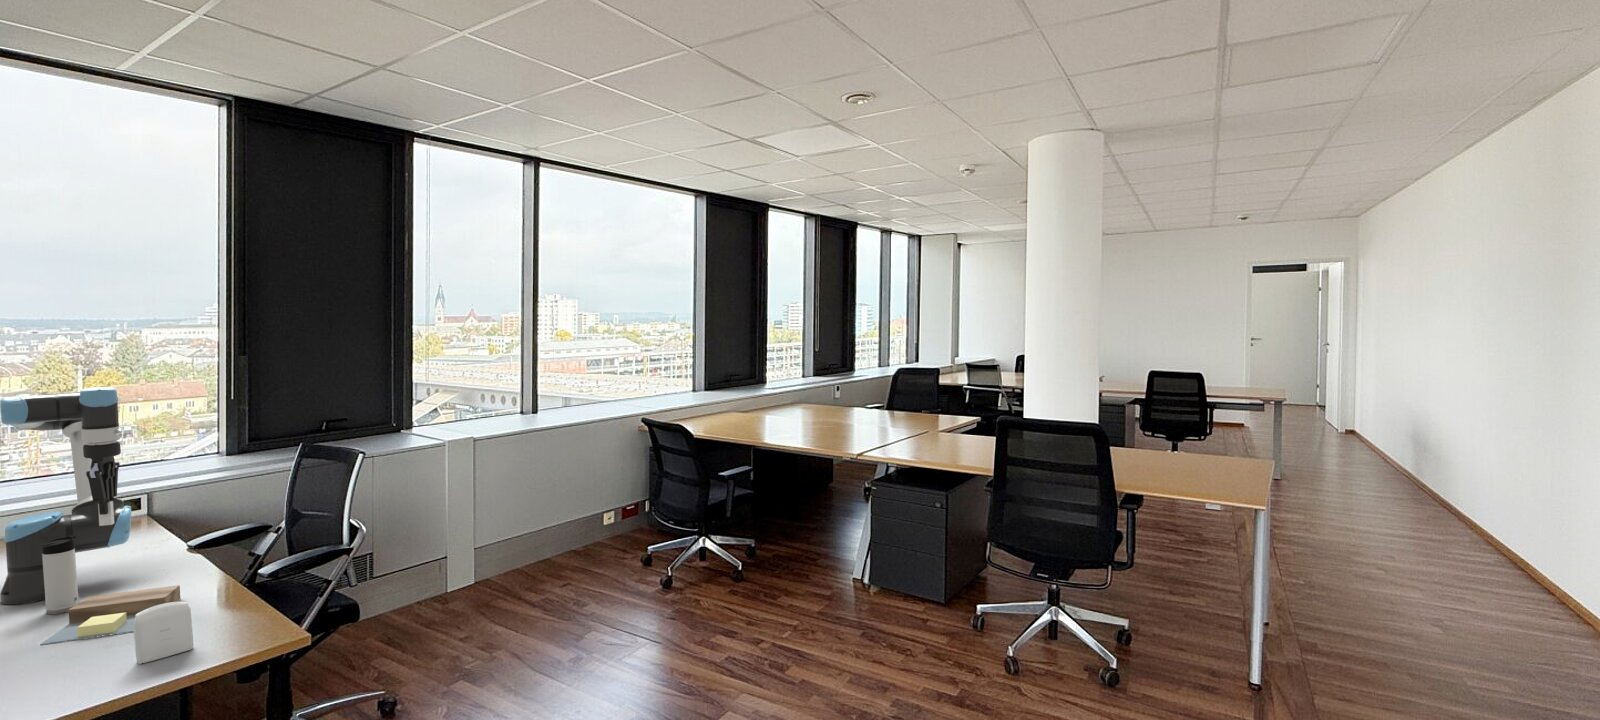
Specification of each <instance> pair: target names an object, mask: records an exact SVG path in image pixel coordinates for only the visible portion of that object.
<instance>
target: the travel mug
mask: <svg viewBox="0 0 1600 720" xmlns="http://www.w3.org/2000/svg"><path fill="white" fill-rule="evenodd" d="M74 538H75V536H68V537H63V538H58V539H54V540H51V541H48V542H46V543H44V544H42V550H43V551H42V555H43V557H42V559H43V573H44V587H45V600H44V601H45V607H46V608H45V612H46V614H48V615H59V614H64V612H65V613H68V610H69V609H70V608H72V607H73V606H75V605H76V604H78V603H79V589H78V575H77V561H76V559H77V558H76V553H75V551H74V550H75V547H74Z"/></svg>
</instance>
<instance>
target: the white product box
mask: <svg viewBox="0 0 1600 720" xmlns="http://www.w3.org/2000/svg"><path fill="white" fill-rule="evenodd" d="M133 634H134V645H135V646H134V647H135V648H134V649H135V658H136V663H137V664H138V665H143V664H145V663H148V662H149V663H150V662H152V661H156V660H160V659H164V658H167V657H171V656H173V655H177V654H180V653H183V652H187V651H191V650H193V649H194V635H193V621H192V609H191V607H190V606H189V603H188V602H187V601H177V602H170V603H164V604H160V605H156V606H153V607H150V608H148V609H145V610H143V611H141V612H139V613H137V614H136V615H135V620H134V632H133ZM142 663H143V664H142Z"/></svg>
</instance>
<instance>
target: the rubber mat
mask: <svg viewBox="0 0 1600 720" xmlns="http://www.w3.org/2000/svg"><path fill="white" fill-rule="evenodd" d="M126 617H127V622H126V623H124V624H123V625H122V626H121V627H119V628H118V629H117V630H116V631H115V632H111V633H104V634H97V635H90V636H83V637H78V634H77V627H78V626H80V625H81V624H83V623H84V622H78V623H71V624H69V623H68V624H67V625H65V626H64V627H63V628H61V629H60V630H58V631H57V632H55V633H54V634H53V635H51V636H50V637H48V638H47V639H45V640H44V641H42V642H41V643H40V645H39V646H44V645H45V646H46V645H51V644H59V643H65V641H67V642H71V640H74V641H78V640H77V639H81V640H85V639H84V638H88V639H92V638H91V637H95V638H98V637H97V636H102V635H109V636H111V635H110V634H116V635H120V634H119V633H123V634H127V633H126V632H130V633H134V620H135V615H130V616H126ZM117 633H118V634H117ZM102 637H103V636H102Z"/></svg>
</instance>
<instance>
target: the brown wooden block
mask: <svg viewBox="0 0 1600 720" xmlns="http://www.w3.org/2000/svg"><path fill="white" fill-rule="evenodd" d="M179 599H180V600H181V586H180V585H179V584H177V585H170V586H169V585H168V586H163V587H155V588H148V589H146V588H145V589H138V590H132V591H123V592H113V593H106V594H98V595H92V596H91V595H90V596H87V597H85V598H83V600H81V601H80V602H79V601H78V602H79V603H78V604H76V605H75V606H73V607H72V608H70V609H69V610H68V612H67V614H68V624H71V623H78V622H85V621H87V620H88V619H89V618H91V617H95V616H103V615H110V614H118V613H125V612H126V616H130V615H136V614H137V613H139V612H141V611H143V610H145V609H148V608H150V607H153V606H156V605H160V604H164V603H170V602H179V601H180V600H179ZM178 600H179V601H178Z"/></svg>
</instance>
